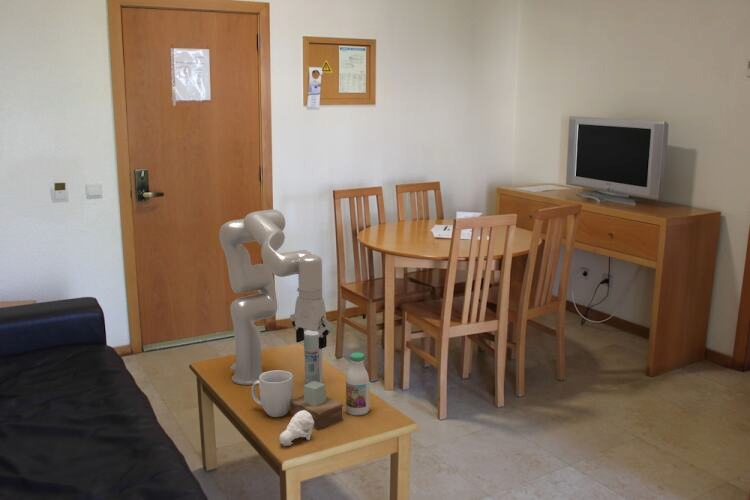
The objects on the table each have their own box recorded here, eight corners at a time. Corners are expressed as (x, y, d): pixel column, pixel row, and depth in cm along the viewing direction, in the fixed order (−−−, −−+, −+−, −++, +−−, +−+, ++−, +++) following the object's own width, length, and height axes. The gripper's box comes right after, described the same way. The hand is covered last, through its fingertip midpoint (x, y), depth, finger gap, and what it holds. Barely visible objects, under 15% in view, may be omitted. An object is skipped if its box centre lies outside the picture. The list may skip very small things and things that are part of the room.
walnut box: (290, 417, 239) (289, 400, 237) (314, 407, 246) (314, 391, 245) (319, 431, 229) (318, 413, 227) (343, 421, 236) (343, 403, 235)
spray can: (302, 386, 263) (300, 334, 259) (308, 380, 269) (307, 328, 265) (319, 388, 261) (318, 335, 257) (325, 381, 267) (324, 330, 263)
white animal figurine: (315, 411, 222) (286, 428, 214) (317, 435, 225) (289, 453, 216) (300, 405, 226) (272, 421, 218) (303, 429, 229) (275, 446, 220)
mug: (244, 415, 240) (242, 378, 237) (261, 402, 250) (259, 366, 247) (284, 422, 234) (282, 384, 232) (299, 409, 244) (298, 372, 242)
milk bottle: (353, 404, 247) (352, 349, 243) (373, 408, 244) (372, 352, 240) (342, 413, 241) (341, 356, 237) (362, 417, 237) (362, 360, 233)
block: (304, 402, 235) (303, 385, 234) (314, 397, 239) (313, 380, 238) (315, 406, 233) (315, 389, 231) (325, 401, 236) (325, 384, 235)
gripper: (282, 291, 233) (283, 342, 237) (323, 301, 223) (324, 353, 227) (298, 286, 239) (299, 335, 243) (339, 295, 229) (339, 347, 233)
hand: (311, 344), depth 235 cm, fingers open, 9 cm apart
